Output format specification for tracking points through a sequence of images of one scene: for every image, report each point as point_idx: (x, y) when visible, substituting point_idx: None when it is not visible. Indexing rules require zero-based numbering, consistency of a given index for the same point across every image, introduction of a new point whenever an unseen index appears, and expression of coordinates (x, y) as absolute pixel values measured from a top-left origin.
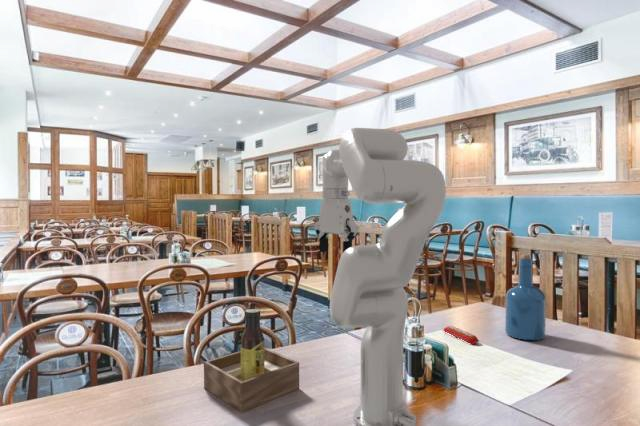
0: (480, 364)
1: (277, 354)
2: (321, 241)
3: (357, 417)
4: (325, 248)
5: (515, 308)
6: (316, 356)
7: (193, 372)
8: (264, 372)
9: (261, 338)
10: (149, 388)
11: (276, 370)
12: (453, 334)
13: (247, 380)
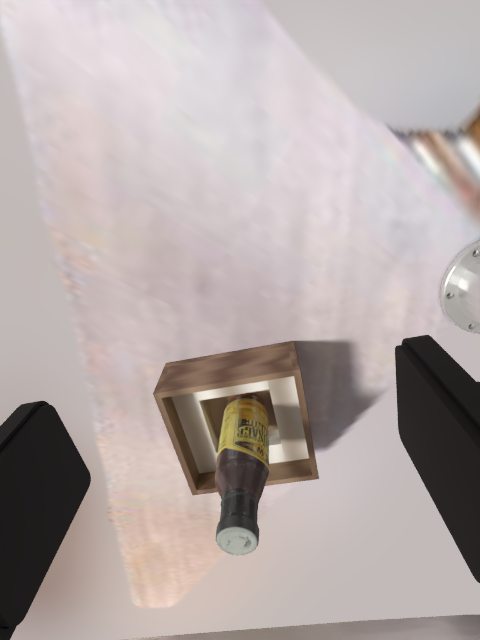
0: None
1: (229, 385)
2: (34, 597)
3: (468, 326)
4: (52, 458)
5: None
6: (156, 221)
7: (127, 454)
8: (255, 407)
9: (263, 471)
10: (160, 508)
11: (307, 419)
12: None
13: (314, 469)
